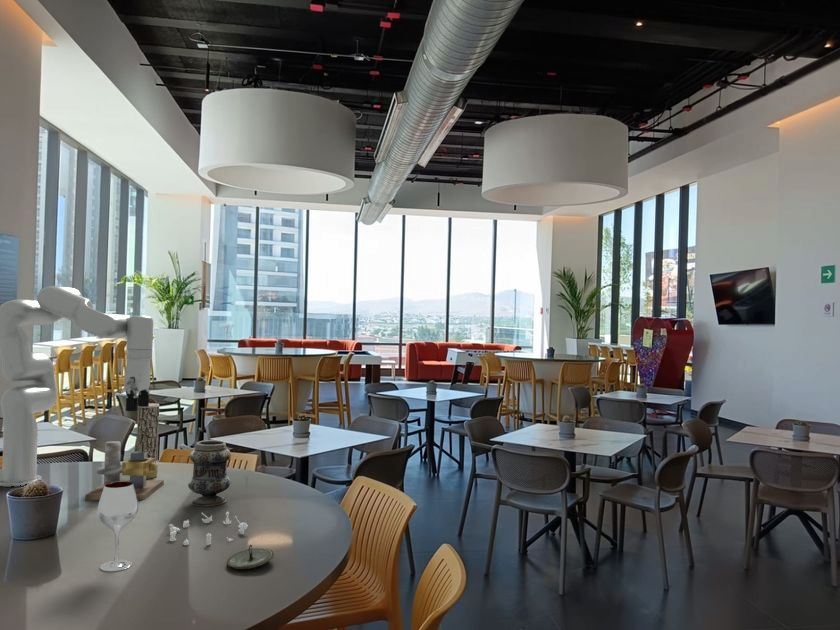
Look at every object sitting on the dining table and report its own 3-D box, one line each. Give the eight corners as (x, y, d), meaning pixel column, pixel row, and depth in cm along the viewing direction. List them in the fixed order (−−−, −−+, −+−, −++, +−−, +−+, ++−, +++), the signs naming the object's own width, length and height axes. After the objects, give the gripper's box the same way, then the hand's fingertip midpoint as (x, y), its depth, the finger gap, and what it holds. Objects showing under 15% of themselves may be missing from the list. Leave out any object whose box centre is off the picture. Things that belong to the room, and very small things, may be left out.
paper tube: (135, 475, 220) (137, 403, 220) (156, 474, 223) (158, 403, 223) (136, 480, 214) (138, 406, 214) (157, 478, 217) (159, 405, 217)
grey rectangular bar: (129, 488, 198) (130, 453, 198) (132, 486, 201) (133, 451, 201) (143, 488, 199) (144, 453, 199) (145, 485, 202) (146, 451, 202)
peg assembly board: (83, 499, 190) (85, 448, 190) (109, 484, 208) (110, 437, 208) (144, 500, 191) (145, 448, 191) (164, 484, 209) (165, 437, 209)
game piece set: (261, 527, 170) (261, 512, 170) (218, 552, 151) (218, 536, 151) (198, 519, 175) (199, 505, 175) (149, 543, 156) (149, 527, 156)
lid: (279, 573, 142) (284, 550, 143) (241, 573, 135) (246, 549, 137) (255, 562, 150) (259, 540, 151) (217, 561, 143) (222, 538, 144)
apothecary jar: (236, 497, 196) (237, 439, 196) (220, 509, 184) (221, 446, 184) (198, 495, 197) (200, 437, 197) (180, 506, 185) (182, 445, 185)
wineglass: (125, 556, 146) (128, 478, 146) (143, 565, 141) (145, 484, 141) (89, 566, 140) (91, 484, 140) (106, 576, 134) (108, 491, 135)
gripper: (137, 353, 209) (135, 404, 209) (115, 355, 192) (114, 412, 192) (160, 353, 209) (159, 405, 209) (141, 356, 192) (139, 413, 192)
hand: (137, 408), depth 200 cm, fingers open, 9 cm apart
